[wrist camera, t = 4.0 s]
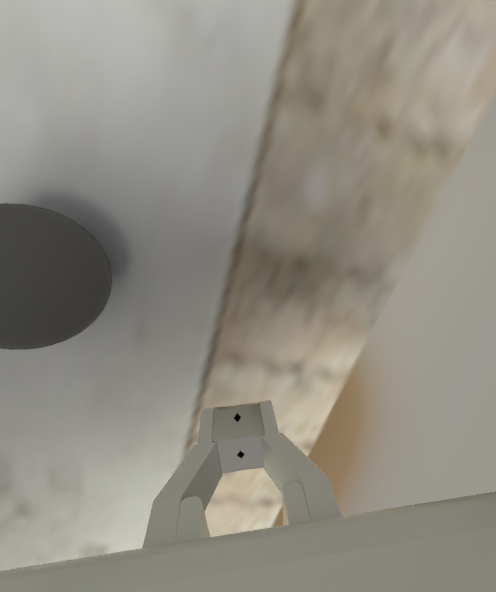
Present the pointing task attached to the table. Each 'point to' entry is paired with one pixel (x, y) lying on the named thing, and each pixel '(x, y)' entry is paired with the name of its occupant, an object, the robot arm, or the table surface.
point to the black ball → (47, 277)
